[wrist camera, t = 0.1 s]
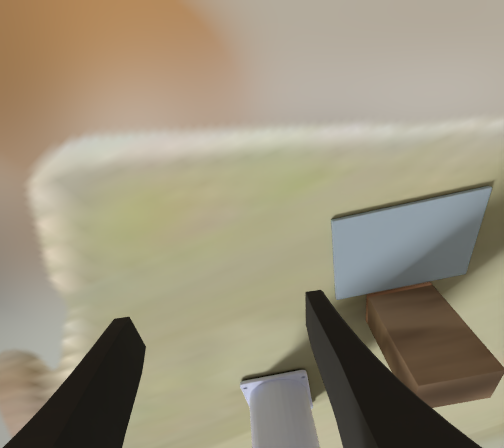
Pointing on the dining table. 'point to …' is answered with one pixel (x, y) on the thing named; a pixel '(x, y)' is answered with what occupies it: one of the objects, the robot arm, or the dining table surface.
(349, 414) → the robot arm
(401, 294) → the brown wooden block
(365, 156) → the dining table surface
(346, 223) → the mat
